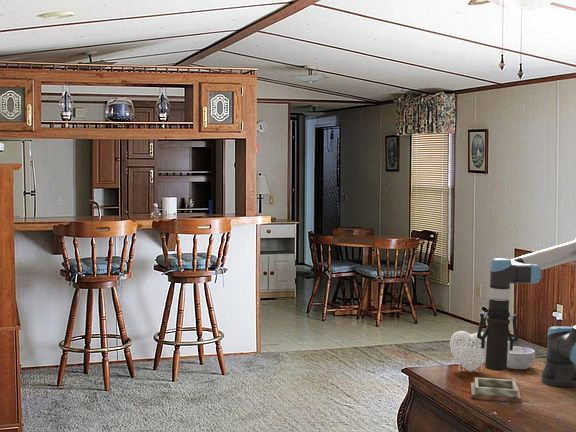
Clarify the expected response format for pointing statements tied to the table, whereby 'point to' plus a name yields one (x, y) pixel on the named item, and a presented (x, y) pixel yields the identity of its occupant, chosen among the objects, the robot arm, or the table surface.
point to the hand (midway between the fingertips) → (496, 357)
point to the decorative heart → (469, 350)
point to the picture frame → (495, 390)
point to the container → (497, 344)
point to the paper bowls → (520, 358)
